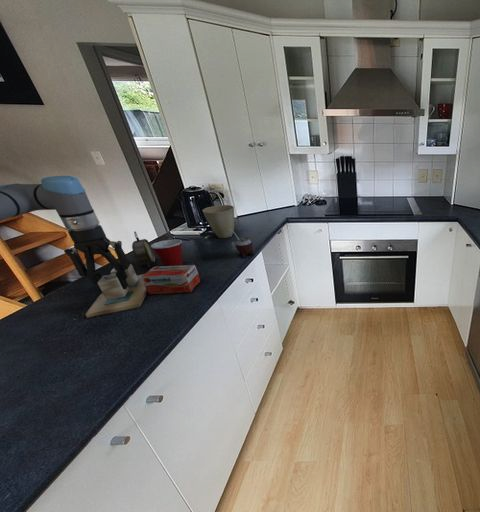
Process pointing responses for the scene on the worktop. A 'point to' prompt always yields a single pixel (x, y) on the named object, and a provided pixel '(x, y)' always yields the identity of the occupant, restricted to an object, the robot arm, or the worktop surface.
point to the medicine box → (171, 279)
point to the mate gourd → (243, 246)
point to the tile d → (111, 287)
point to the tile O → (130, 273)
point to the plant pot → (220, 219)
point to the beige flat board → (119, 300)
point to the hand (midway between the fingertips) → (115, 289)
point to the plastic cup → (169, 252)
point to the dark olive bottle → (143, 251)
